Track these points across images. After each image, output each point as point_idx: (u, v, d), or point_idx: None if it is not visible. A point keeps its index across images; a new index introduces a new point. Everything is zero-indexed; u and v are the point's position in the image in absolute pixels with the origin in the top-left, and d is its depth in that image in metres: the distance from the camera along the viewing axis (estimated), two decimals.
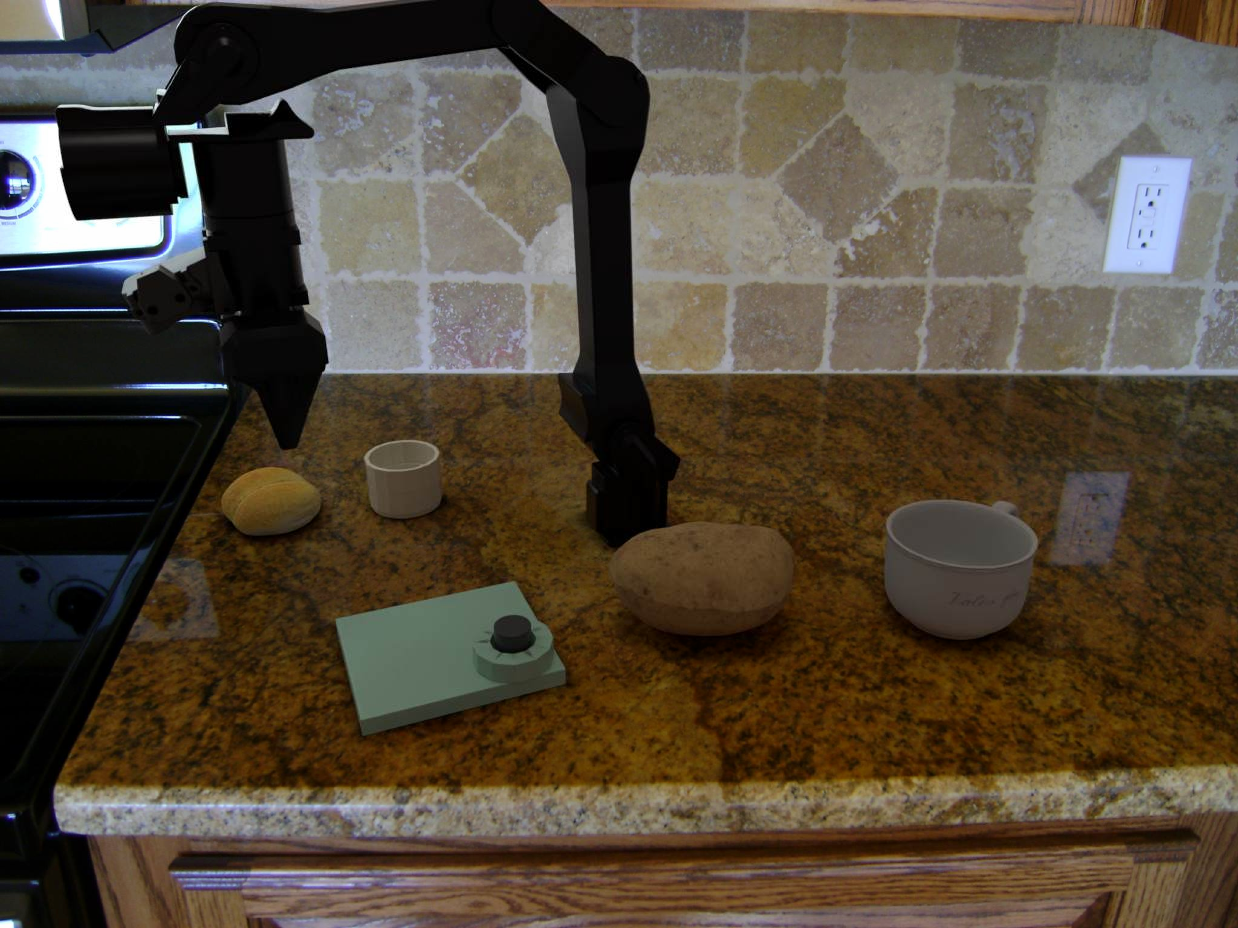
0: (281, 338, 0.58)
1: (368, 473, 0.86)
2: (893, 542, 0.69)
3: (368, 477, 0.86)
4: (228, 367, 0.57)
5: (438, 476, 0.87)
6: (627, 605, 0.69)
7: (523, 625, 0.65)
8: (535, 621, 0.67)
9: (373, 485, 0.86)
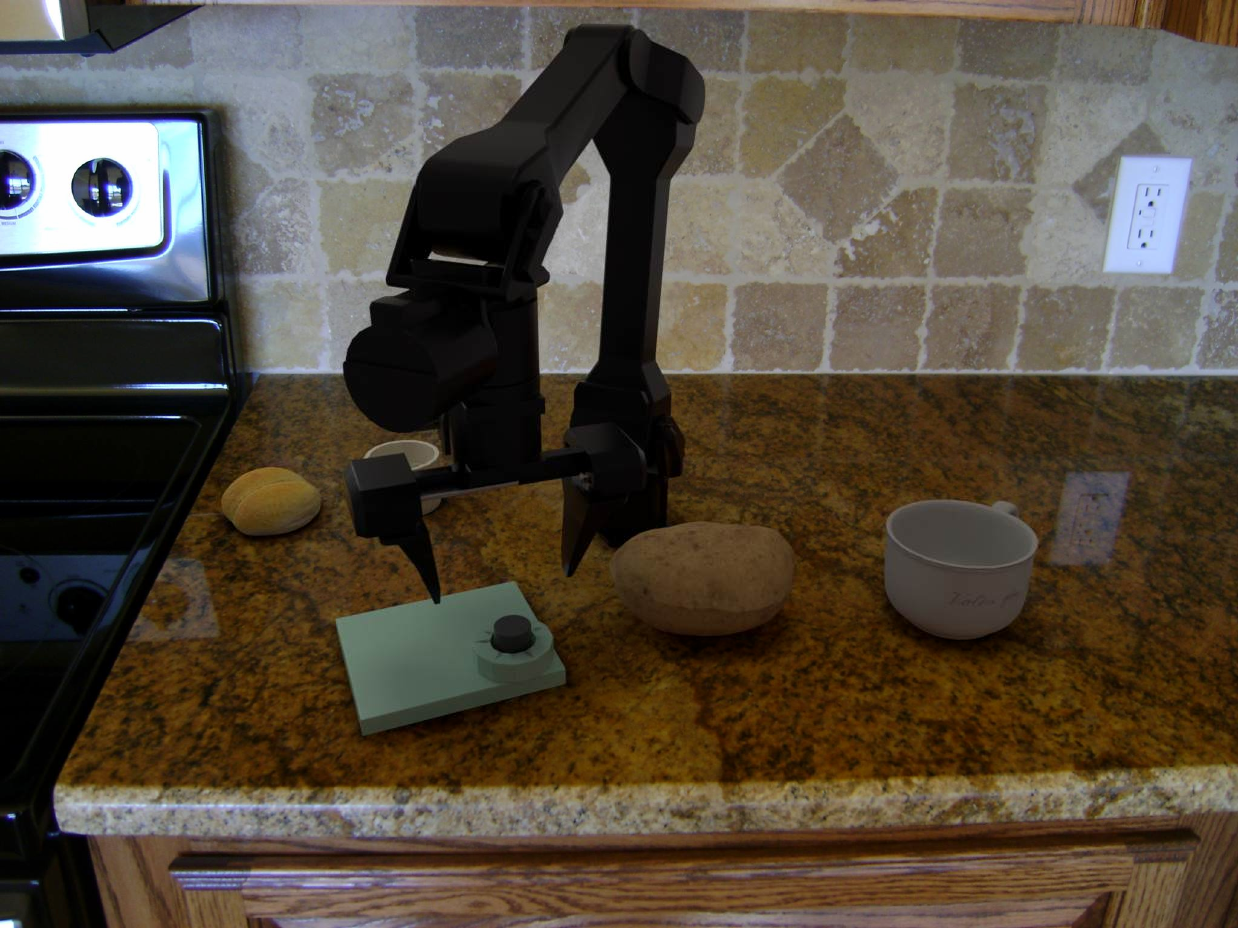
0: (348, 488, 0.56)
1: None
2: (893, 542, 0.69)
3: None
4: None
5: None
6: (627, 605, 0.69)
7: (523, 625, 0.65)
8: (535, 621, 0.67)
9: None
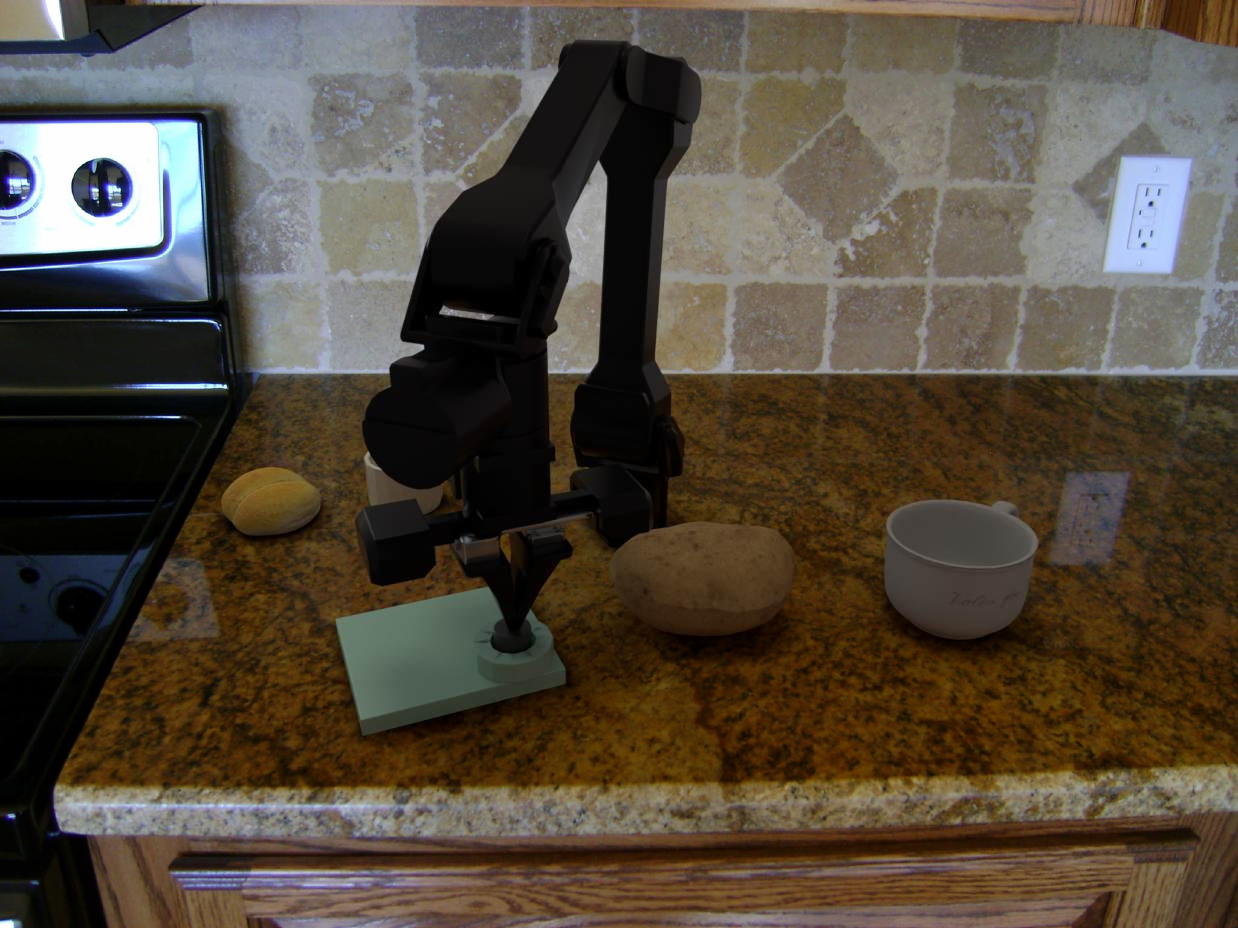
0: (362, 536, 0.57)
1: (368, 473, 0.86)
2: (893, 542, 0.69)
3: (368, 477, 0.86)
4: None
5: None
6: (627, 605, 0.69)
7: (523, 627, 0.65)
8: (535, 621, 0.67)
9: (373, 485, 0.86)
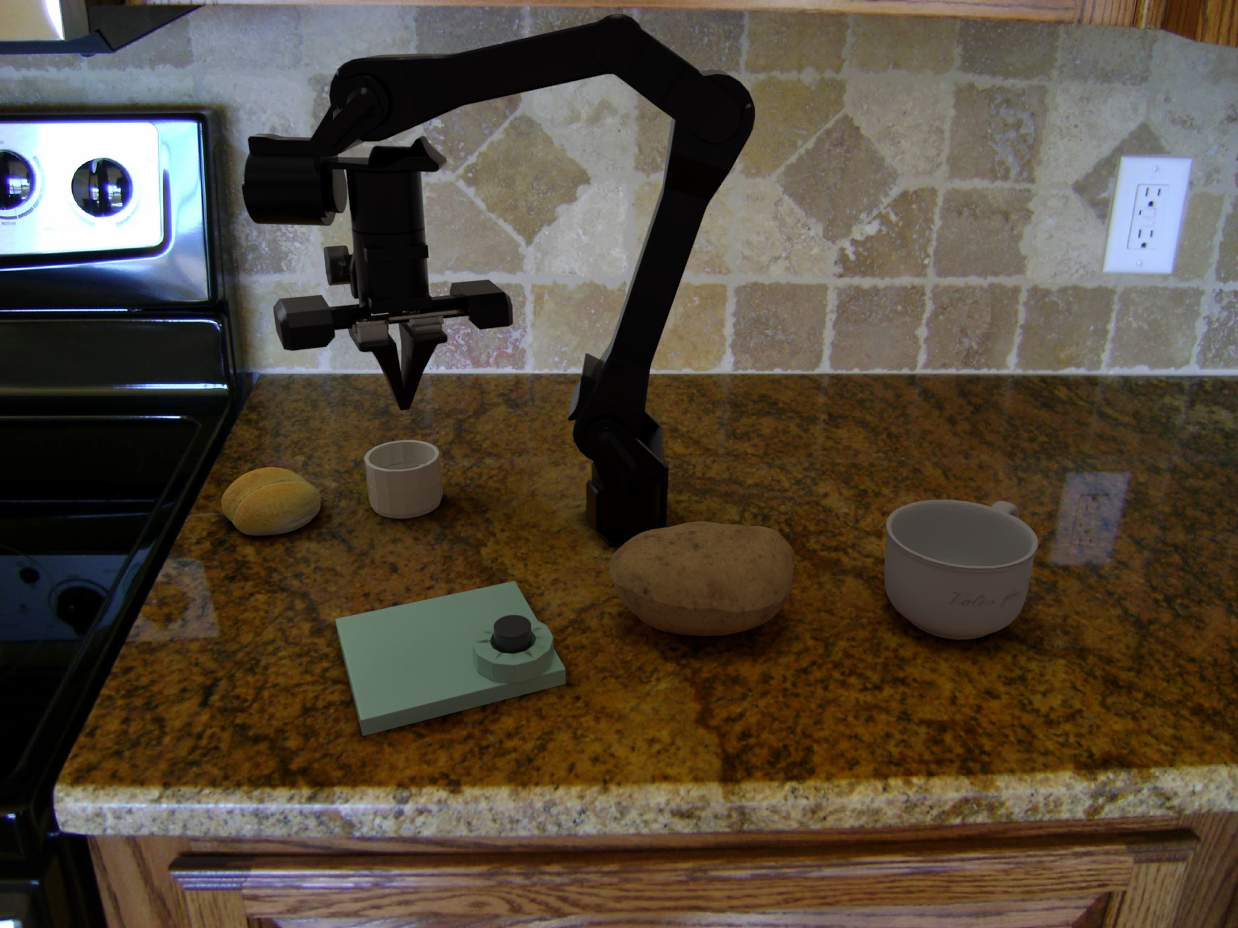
0: (277, 315, 0.73)
1: (368, 473, 0.86)
2: (893, 542, 0.69)
3: (368, 477, 0.86)
4: None
5: (438, 476, 0.87)
6: (627, 605, 0.69)
7: (523, 625, 0.65)
8: (535, 621, 0.67)
9: (373, 485, 0.86)
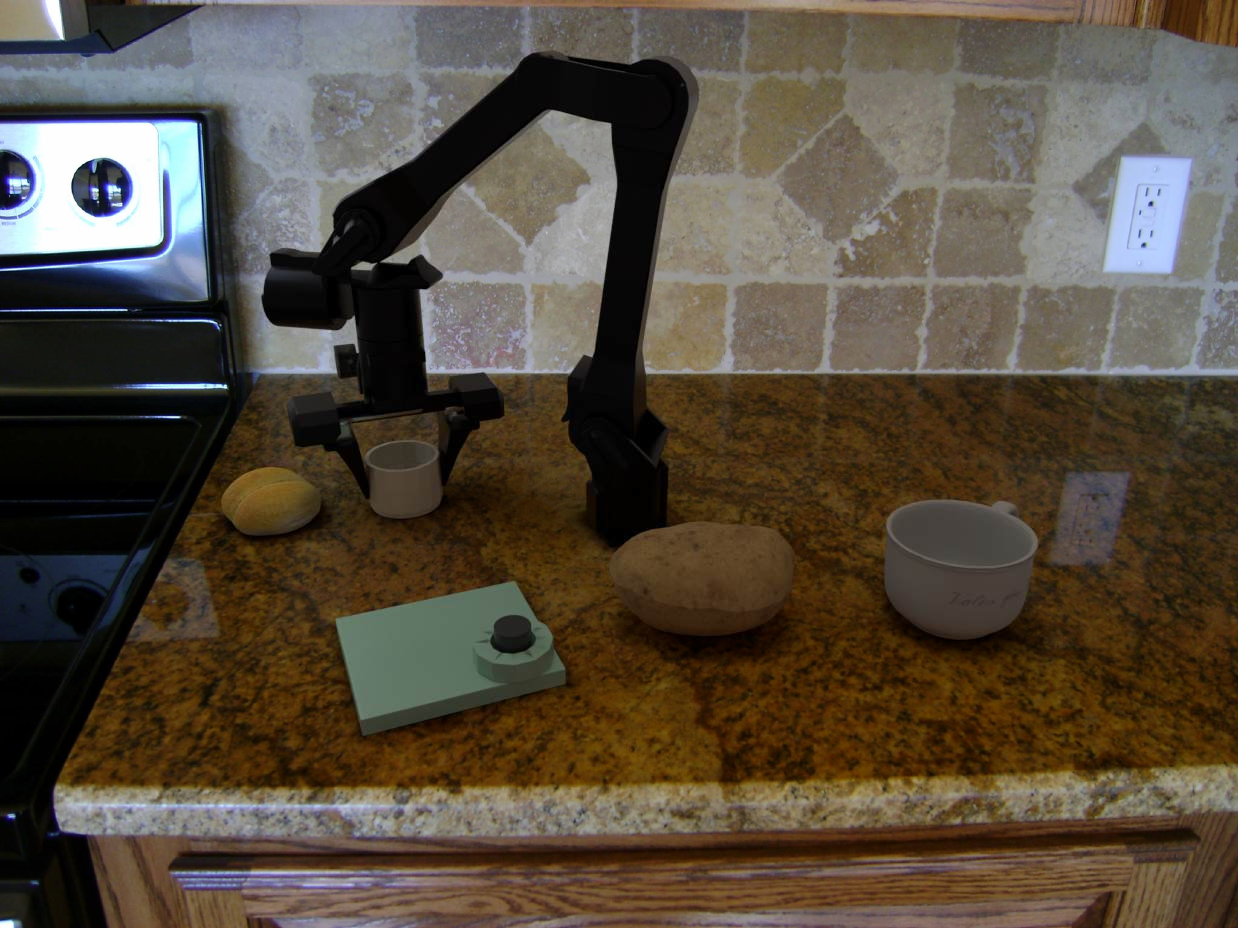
0: (289, 414, 0.81)
1: (368, 473, 0.86)
2: (893, 542, 0.69)
3: (368, 477, 0.86)
4: None
5: (438, 476, 0.87)
6: (627, 605, 0.69)
7: (523, 625, 0.65)
8: (535, 621, 0.67)
9: (373, 485, 0.86)
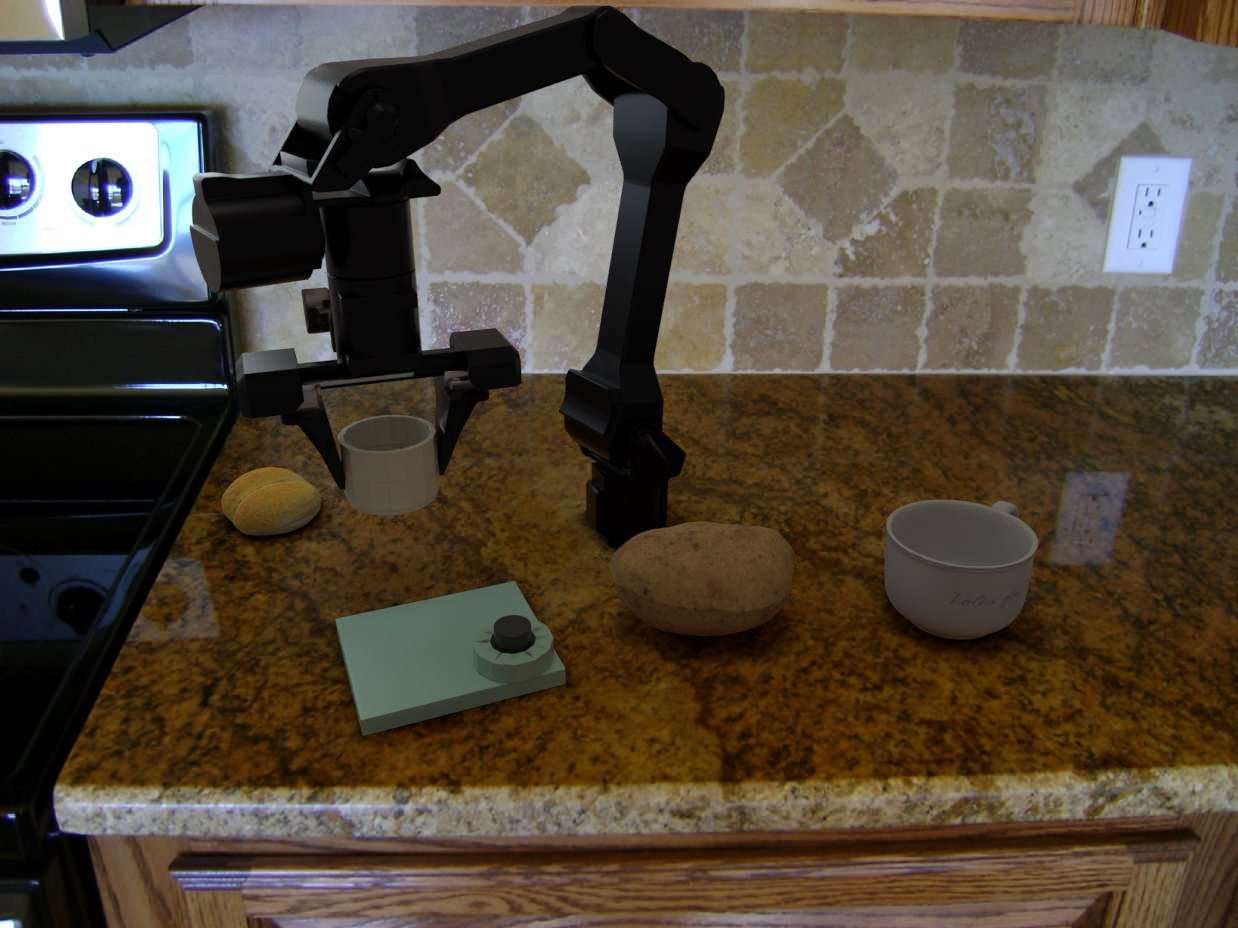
0: (236, 374, 0.61)
1: (342, 456, 0.65)
2: (893, 542, 0.69)
3: (342, 461, 0.66)
4: None
5: (434, 461, 0.67)
6: (627, 605, 0.69)
7: (523, 625, 0.65)
8: (535, 621, 0.67)
9: (348, 471, 0.65)
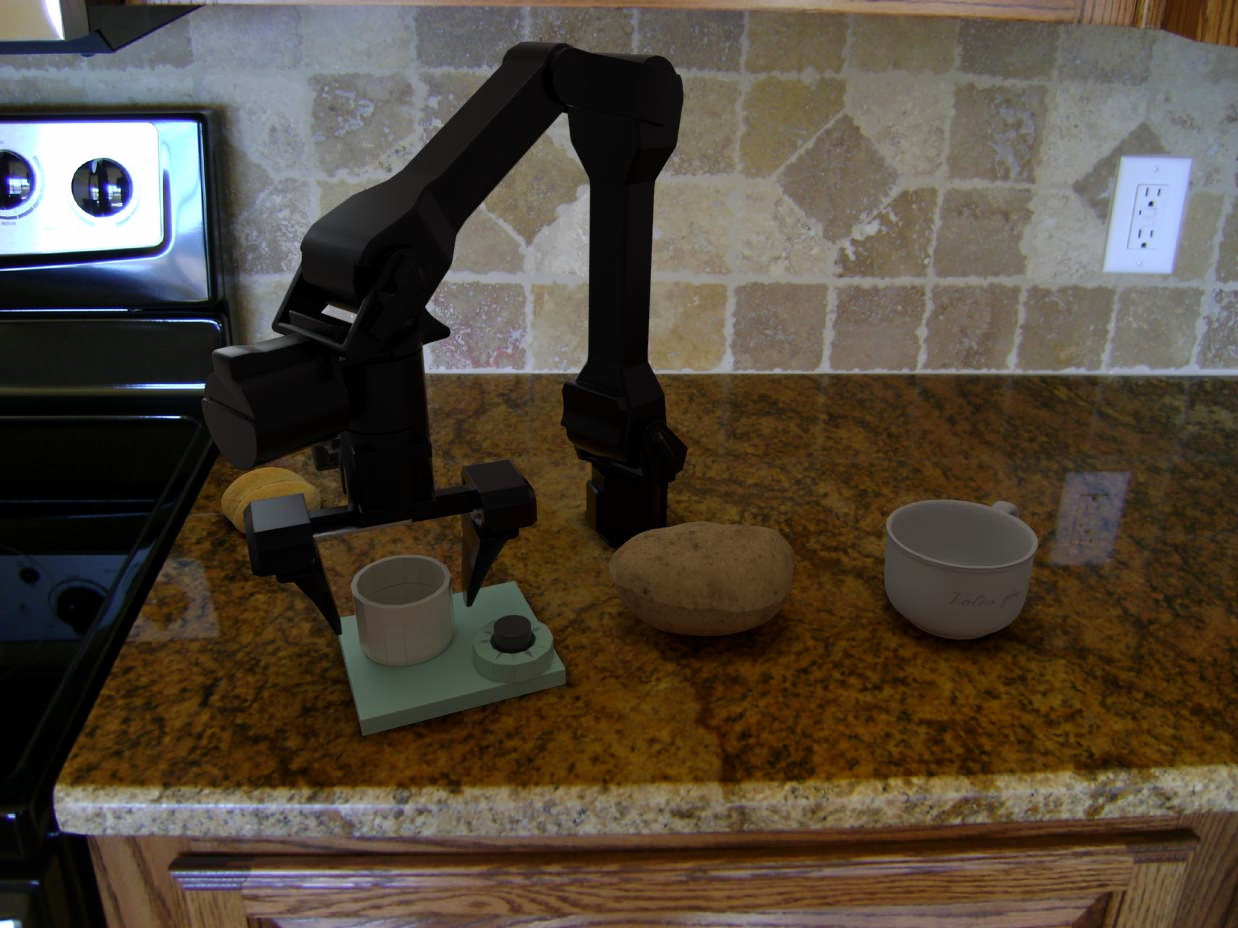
0: (245, 529, 0.59)
1: (356, 607, 0.64)
2: (893, 542, 0.69)
3: (356, 612, 0.64)
4: None
5: (449, 607, 0.66)
6: (627, 605, 0.69)
7: (523, 625, 0.65)
8: (535, 621, 0.67)
9: (363, 623, 0.64)
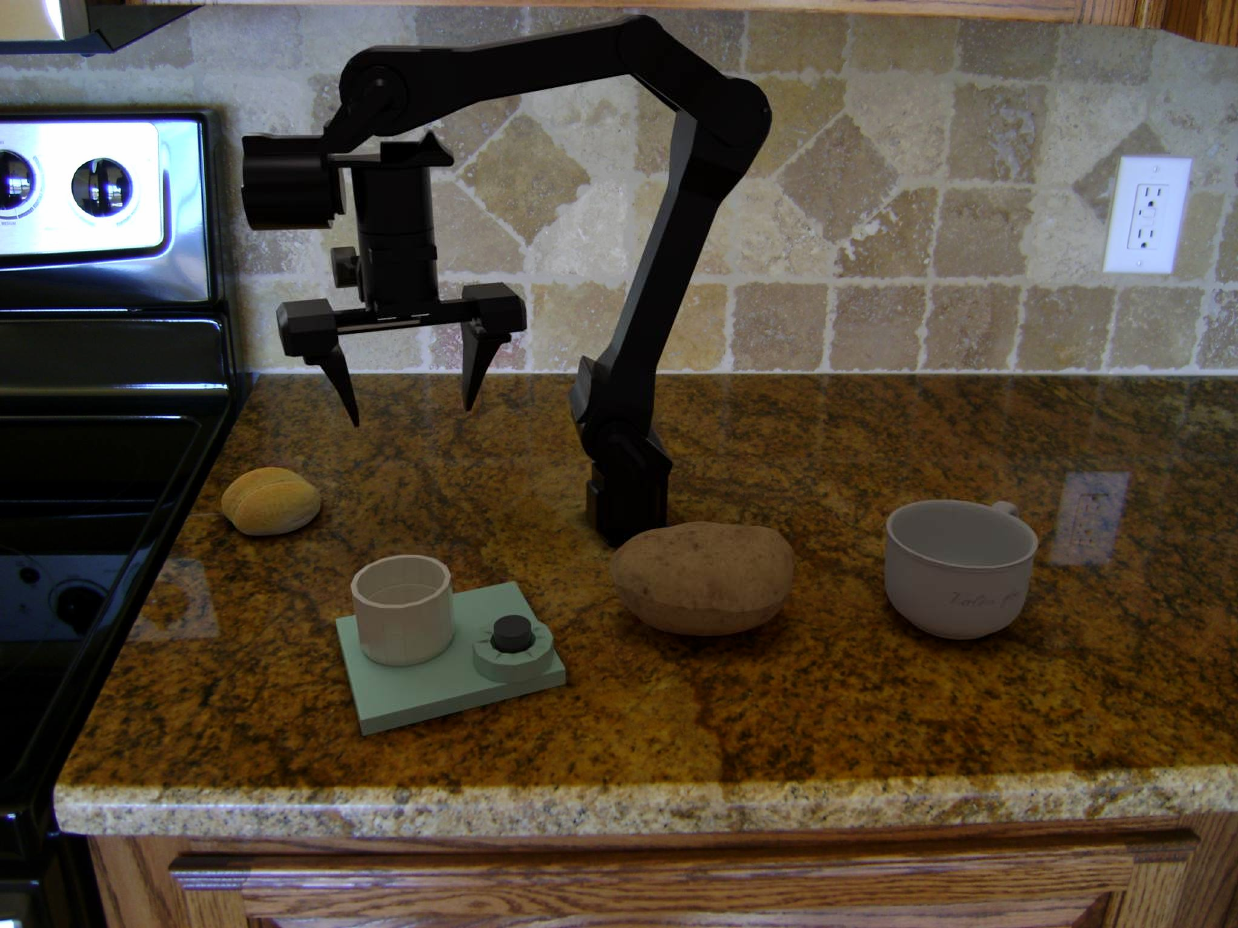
0: (279, 319, 0.70)
1: (356, 607, 0.64)
2: (893, 542, 0.69)
3: (356, 612, 0.64)
4: None
5: (449, 607, 0.66)
6: (627, 605, 0.69)
7: (523, 625, 0.65)
8: (535, 621, 0.67)
9: (363, 623, 0.64)
